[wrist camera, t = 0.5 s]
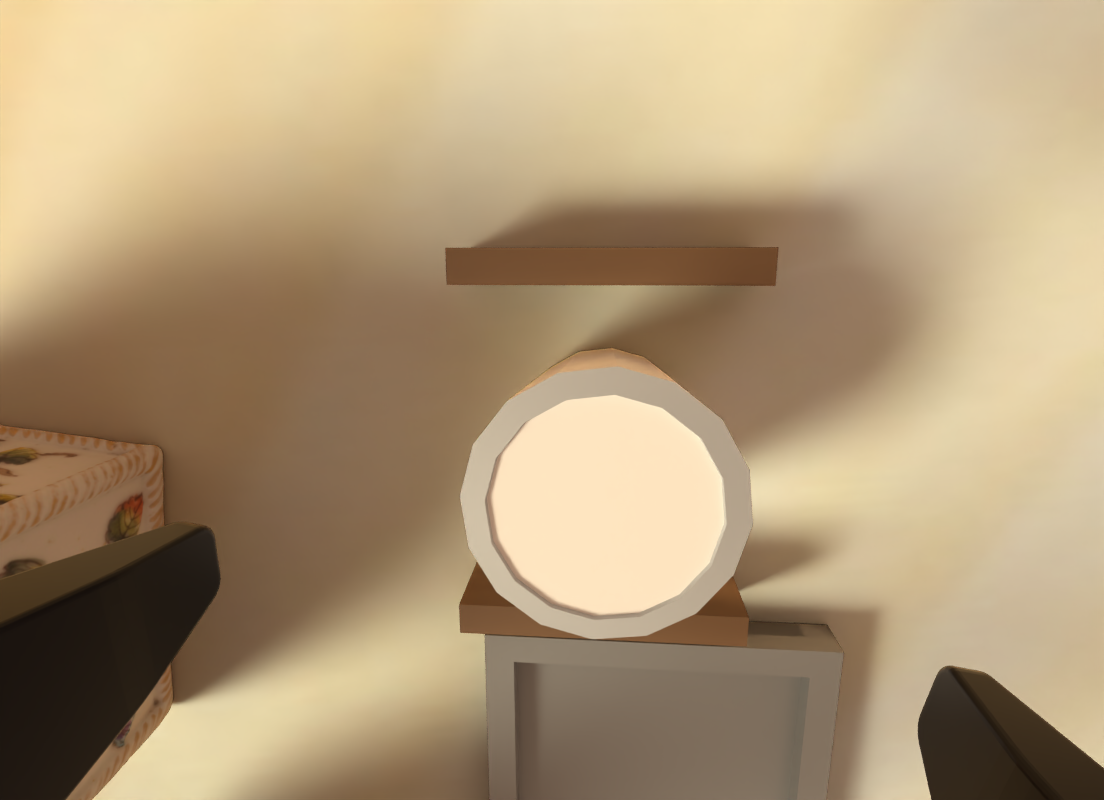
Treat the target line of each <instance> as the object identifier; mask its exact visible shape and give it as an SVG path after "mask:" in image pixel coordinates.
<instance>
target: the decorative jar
mask: <svg viewBox="0 0 1104 800" xmlns="http://www.w3.org/2000/svg"><path fill="white" fill-rule="evenodd" d="M162 469H163V453H162V450H161V449H160V448H159V447H158V446H156V445H143V444H132V443H127V442H113V441H110V440H105V439H98V438H93V437H85V436H76V435H69V434H63V433H56V432H48V431H42V430H35V429H24V428H18V427H9V426H4V425H0V579H2V578H5V577H8V576H12V575H15V574H18V573H21V572H24V571H27V570H30V569H33V568H36V567H39V566H42V565H45V564H48V563H52V562H55V561H58V560H61V559H64V558H67V557H70V556H73V555H76V554H79V553H82V552H85V551H89V550H92V549H95V548H98V547H101V546H104V545H107V544H110V543H113V542H116V541H119V540H122V539H125V538H129V537H132V536H135V535H138V534H141V533H144V532H147V531H150V530H153V529H156V528H159V527H162V526H164V513H163V489H164V479H163V471H162ZM172 701H173V688H172V672H171V664H170V665H169V667H168V668H167V670H166V671H165V673H164V674H163V676H162V677H161V679H160V680H159V682H158V683H157V684H156V686H155V687H154V689H153V690H152V691H151V693H150V694H149V696H148V697H147V699H146V700H145V701H144V703H143V704H142V705H141V707H140V708H139V709H138V711H137V712H136V713H135V714H134V716H133V717H132V718H131V720H130V721H129V722H128V723H127V725H126V726H125V727H124V728H123V730H122V731H121V732H120V733H119V735H118V736H117V737H116V738H115V740H114V741H113V742H112V743H111V745H110V746H109V747H108V748H107V750H106V751H105V752H104V753H103V755H102V756H101V757H100V758H99V759H98V761H97V762H96V763H95V764H94V766H93V767H92V768H91V769H90V771H89V772H88V773H87V774H86V776H85V777H84V778H83V779H82V781H81V782H80V783H79V784H78V786H77V787H76V788H75V789H74V791H73V792H72V793H71V794H70V796H69V797H68V798H67V799H66V800H92V799H93V798H94V797H95V796H96V795H97V794H98V793H99V792H100V791H101V790H102V789H103V787H104V786H105V785H106V784H107V783H108V782H109V781H110V780H111V779H112V778H113V777H114V775H115V774H116V773H117V772H118V771H119V770H120V768H121V767H122V766H123V765H124V764H125V763H126V762H127V761H128V759H129V758H130V757H131V756H132V755H133V754H134V753H135V752H136V751H137V750H138V749H139V747H140V746H141V745H142V744H143V743H144V742H145V741H146V740H147V739H148V737H149V736H150V735H151V734H152V733H153V731H154V730H155V729H156V728H157V727H158V726H159V725H160V723H161V722H162V720H163V719H164V717H165V716H166V715H167V713H168V712H169V710H170V708H171V705H172Z"/></svg>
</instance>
